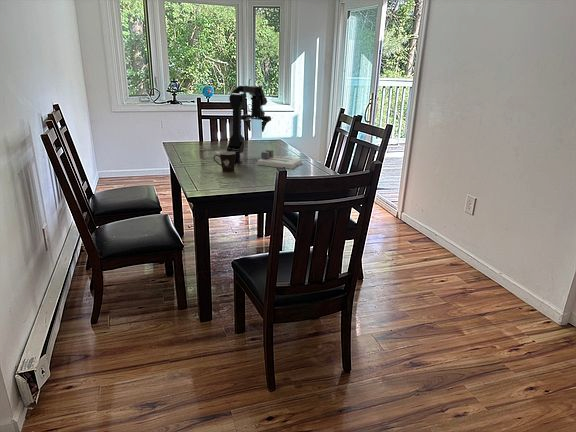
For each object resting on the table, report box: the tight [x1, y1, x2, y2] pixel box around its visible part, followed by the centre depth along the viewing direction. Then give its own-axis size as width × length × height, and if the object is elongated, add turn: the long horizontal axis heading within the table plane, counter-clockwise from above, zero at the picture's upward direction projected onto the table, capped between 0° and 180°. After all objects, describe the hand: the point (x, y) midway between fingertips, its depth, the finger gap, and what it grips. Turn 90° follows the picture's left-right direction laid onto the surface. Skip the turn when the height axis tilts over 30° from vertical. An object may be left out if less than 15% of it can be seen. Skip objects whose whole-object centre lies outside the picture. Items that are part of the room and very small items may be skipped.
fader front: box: [260, 151, 269, 159], centre depth 258 cm, size 3×4×4 cm
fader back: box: [265, 149, 274, 157], centre depth 263 cm, size 3×4×4 cm
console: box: [256, 155, 303, 170], centre depth 257 cm, size 16×22×3 cm
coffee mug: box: [213, 151, 236, 173], centre depth 237 cm, size 12×9×10 cm
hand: (256, 131), depth 278 cm, fingers open, 9 cm apart
